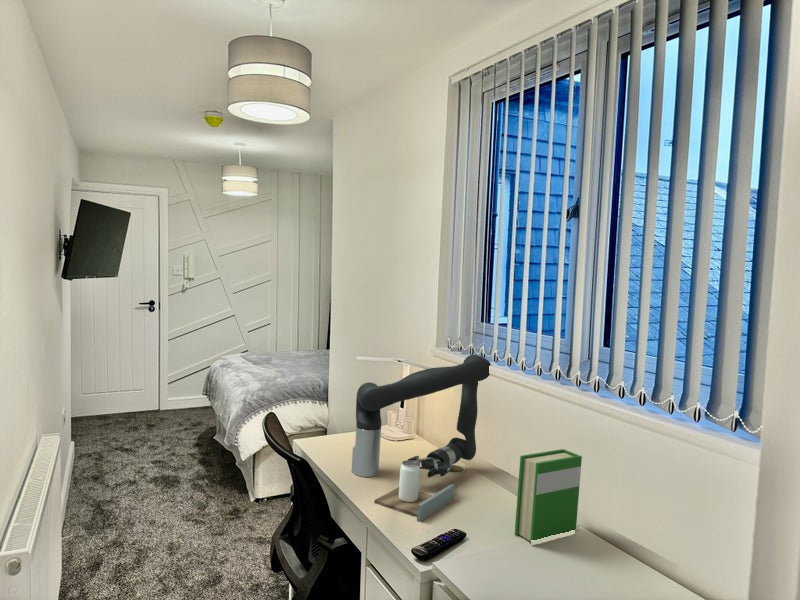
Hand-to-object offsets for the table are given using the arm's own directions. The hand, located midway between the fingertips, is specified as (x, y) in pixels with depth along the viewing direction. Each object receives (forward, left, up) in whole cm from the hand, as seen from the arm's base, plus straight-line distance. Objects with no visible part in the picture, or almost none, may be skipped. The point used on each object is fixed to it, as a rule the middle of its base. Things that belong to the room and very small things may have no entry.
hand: (417, 471), depth 195 cm
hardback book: (+44, +2, -9) cm, 45 cm away
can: (0, -5, -8) cm, 9 cm away
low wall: (+10, -4, -9) cm, 14 cm away
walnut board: (0, -5, -9) cm, 10 cm away
